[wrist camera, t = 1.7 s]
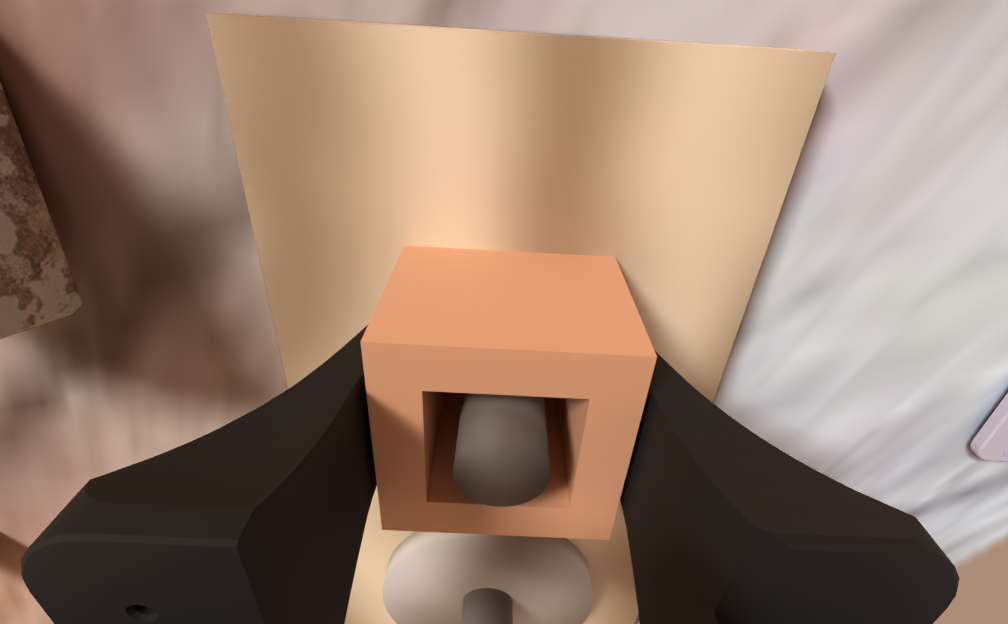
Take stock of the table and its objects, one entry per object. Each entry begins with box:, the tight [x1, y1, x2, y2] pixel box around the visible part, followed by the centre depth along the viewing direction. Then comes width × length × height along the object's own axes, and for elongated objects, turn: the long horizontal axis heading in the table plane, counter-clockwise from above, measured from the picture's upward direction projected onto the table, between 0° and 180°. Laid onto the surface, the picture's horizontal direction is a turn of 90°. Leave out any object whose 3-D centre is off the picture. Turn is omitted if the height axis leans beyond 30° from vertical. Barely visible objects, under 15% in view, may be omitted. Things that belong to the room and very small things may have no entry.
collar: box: [361, 245, 657, 540], centre depth 11 cm, size 5×5×4 cm
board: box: [206, 14, 836, 624], centre depth 14 cm, size 12×24×6 cm, turn 177°
